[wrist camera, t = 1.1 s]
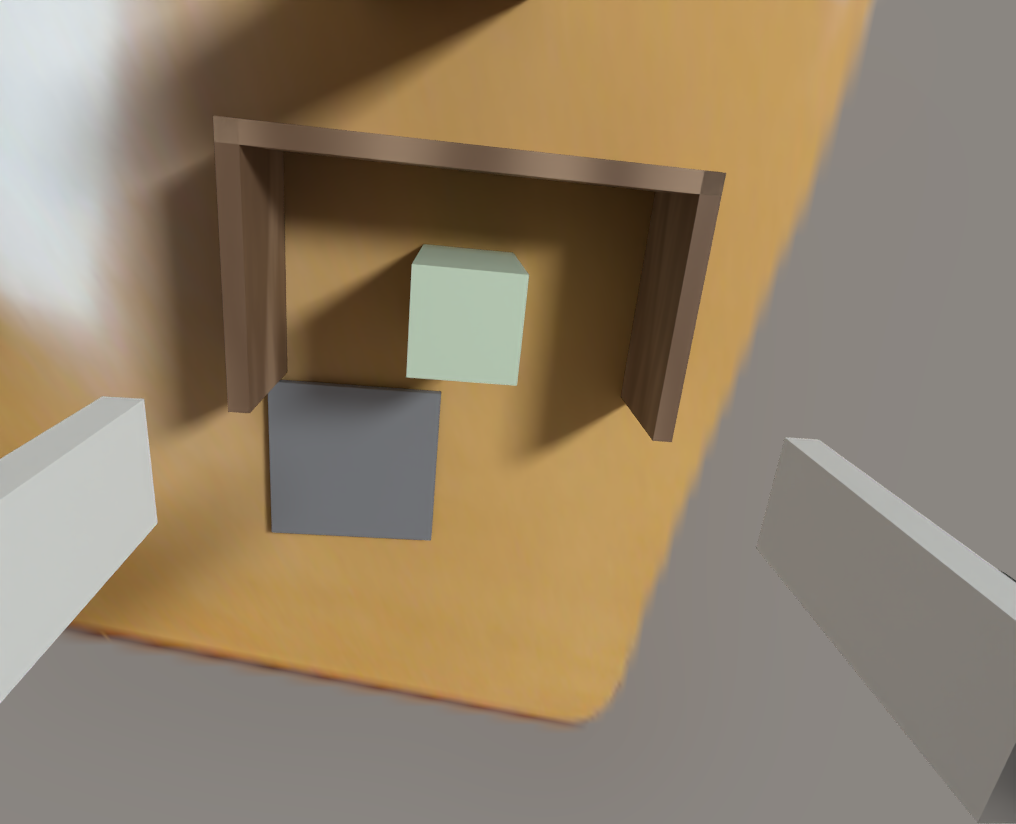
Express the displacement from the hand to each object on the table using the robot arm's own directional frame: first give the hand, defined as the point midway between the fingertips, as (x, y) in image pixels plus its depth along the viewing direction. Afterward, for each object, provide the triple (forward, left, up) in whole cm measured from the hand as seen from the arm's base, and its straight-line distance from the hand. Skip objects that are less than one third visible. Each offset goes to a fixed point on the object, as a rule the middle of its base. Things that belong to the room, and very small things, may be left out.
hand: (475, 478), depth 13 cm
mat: (-6, -11, -25) cm, 28 cm away
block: (0, 0, -25) cm, 25 cm away
